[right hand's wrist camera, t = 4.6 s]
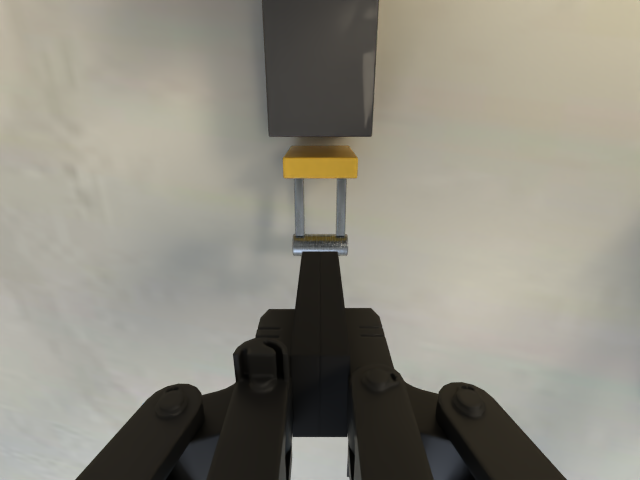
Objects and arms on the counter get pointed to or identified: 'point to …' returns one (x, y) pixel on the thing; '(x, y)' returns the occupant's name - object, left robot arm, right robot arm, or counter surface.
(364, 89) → the dark grey box
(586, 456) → the counter surface
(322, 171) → the drawer
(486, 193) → the counter surface
